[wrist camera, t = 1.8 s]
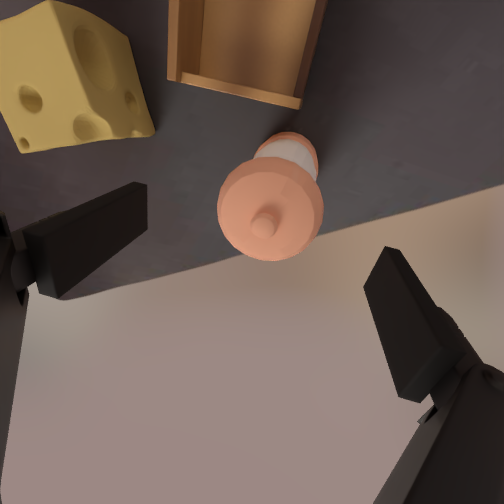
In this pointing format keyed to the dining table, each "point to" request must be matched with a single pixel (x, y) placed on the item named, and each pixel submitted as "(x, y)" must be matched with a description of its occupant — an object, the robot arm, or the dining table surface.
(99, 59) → the cheese
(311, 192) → the salt shaker
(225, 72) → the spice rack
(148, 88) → the dining table surface
